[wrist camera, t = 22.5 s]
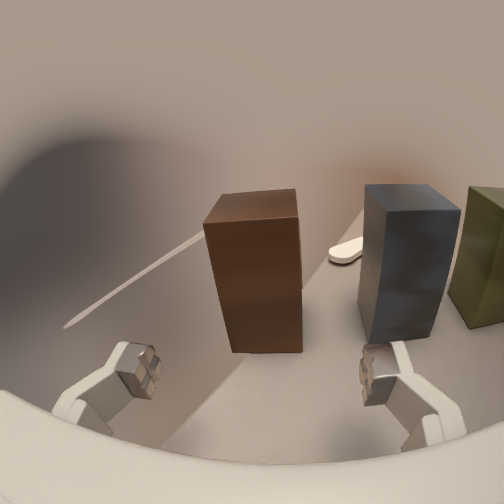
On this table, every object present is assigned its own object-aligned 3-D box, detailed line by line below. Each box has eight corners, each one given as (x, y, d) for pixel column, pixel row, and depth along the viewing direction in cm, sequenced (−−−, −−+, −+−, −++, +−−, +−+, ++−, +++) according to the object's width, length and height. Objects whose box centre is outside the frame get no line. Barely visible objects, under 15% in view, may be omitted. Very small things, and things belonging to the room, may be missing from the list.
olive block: (485, 287, 21) (508, 188, 16) (509, 320, 16) (544, 211, 12) (446, 292, 22) (468, 185, 17) (469, 329, 17) (505, 210, 12)
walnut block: (303, 352, 19) (299, 216, 14) (232, 353, 20) (202, 223, 15) (302, 306, 23) (296, 188, 19) (241, 308, 24) (221, 194, 20)
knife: (347, 271, 26) (348, 261, 26) (320, 255, 30) (320, 246, 30) (463, 215, 35) (464, 209, 35) (441, 208, 39) (442, 201, 38)
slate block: (410, 296, 22) (427, 184, 18) (429, 336, 18) (461, 209, 13) (357, 301, 23) (364, 184, 18) (368, 344, 19) (386, 210, 14)
